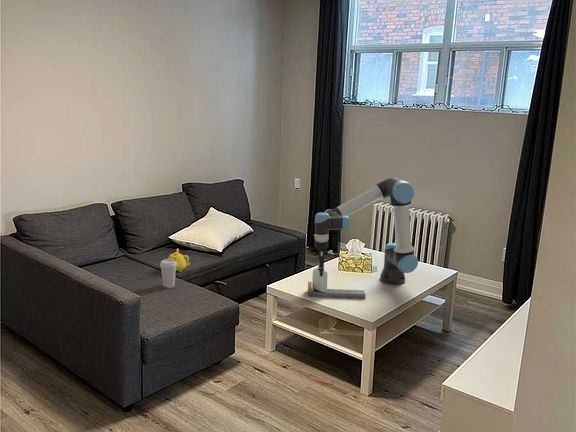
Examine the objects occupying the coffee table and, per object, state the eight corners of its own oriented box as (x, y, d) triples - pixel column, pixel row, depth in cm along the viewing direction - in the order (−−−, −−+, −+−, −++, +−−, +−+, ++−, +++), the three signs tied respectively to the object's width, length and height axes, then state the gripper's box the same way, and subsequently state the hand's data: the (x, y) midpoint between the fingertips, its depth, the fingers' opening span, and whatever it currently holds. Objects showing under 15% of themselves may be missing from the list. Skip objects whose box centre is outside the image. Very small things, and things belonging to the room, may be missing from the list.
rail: (363, 292, 316) (364, 283, 315) (365, 298, 307) (365, 289, 306) (307, 290, 317) (308, 281, 315) (307, 296, 308) (308, 287, 307)
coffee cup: (180, 284, 321) (180, 260, 317) (170, 290, 312) (170, 264, 309) (167, 282, 325) (166, 257, 321) (156, 287, 316) (156, 262, 313)
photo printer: (311, 288, 315) (311, 267, 314) (317, 288, 318) (317, 266, 317) (322, 292, 307) (322, 270, 306) (328, 291, 309) (328, 269, 308)
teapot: (188, 275, 337) (188, 257, 334) (164, 275, 335) (163, 257, 333) (191, 264, 356) (190, 247, 354) (167, 265, 355) (167, 247, 352)
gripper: (314, 234, 318) (313, 269, 323) (315, 247, 293) (314, 284, 298) (327, 234, 317) (326, 269, 323) (329, 247, 293) (328, 285, 298)
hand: (320, 277), depth 311 cm, fingers open, 13 cm apart
